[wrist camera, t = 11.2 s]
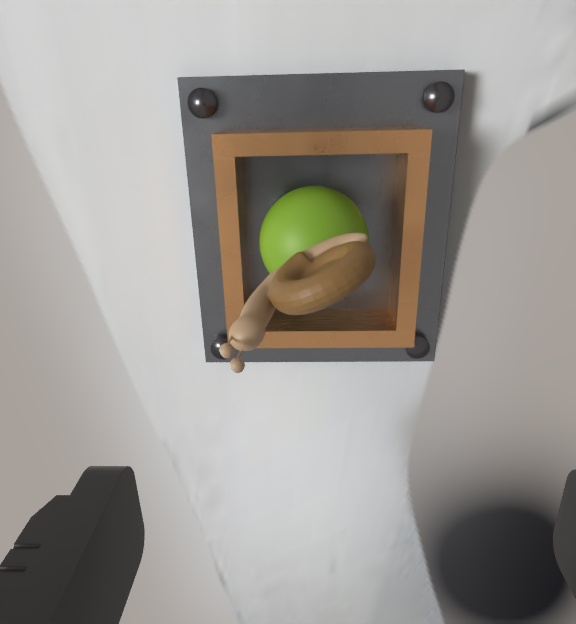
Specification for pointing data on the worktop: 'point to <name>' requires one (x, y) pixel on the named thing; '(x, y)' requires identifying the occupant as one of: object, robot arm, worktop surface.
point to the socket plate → (333, 174)
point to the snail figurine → (304, 262)
